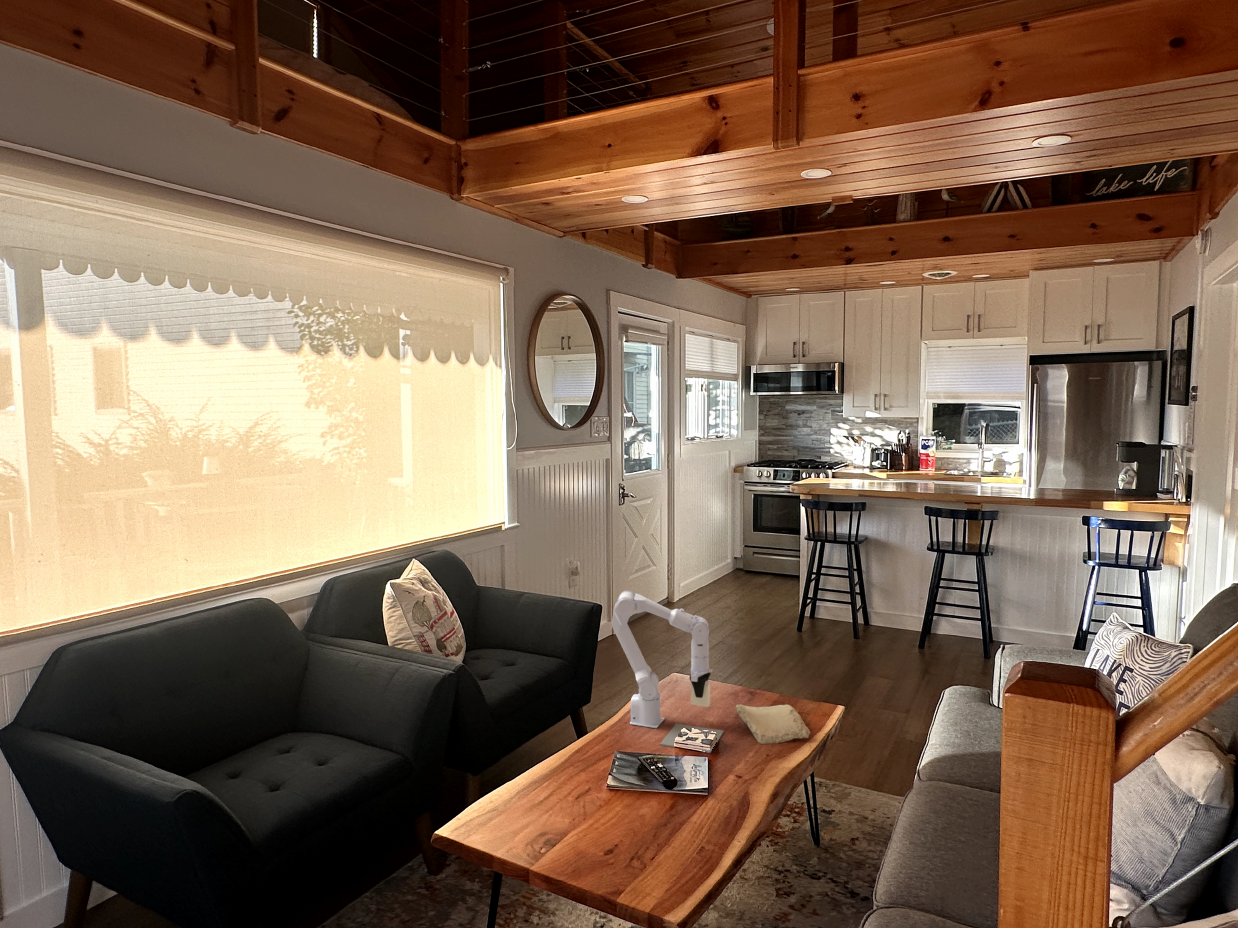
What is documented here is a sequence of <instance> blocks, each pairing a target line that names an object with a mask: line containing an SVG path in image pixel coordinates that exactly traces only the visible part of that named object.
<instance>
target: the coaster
mask: <svg viewBox="0 0 1238 928" xmlns="http://www.w3.org/2000/svg"><path fill="white" fill-rule="evenodd" d="M690 705H693V706H699V707H704V708H709V707H710V706H711V681H710V680H708V681H706V682H705V685H704V692H703V697H702V698H698V697H696V696H695V692H694V688H693V685H692V683H691V682H690Z"/></svg>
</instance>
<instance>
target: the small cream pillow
mask: <svg viewBox="0 0 1238 928" xmlns="http://www.w3.org/2000/svg"><path fill="white" fill-rule="evenodd" d="M735 709H736V712H737V713H738V715H739V717H740V718H741V720H742V722H743V723H745V724H746V725H747V727H748V729H749V730H750V732H751V733H752V735H753V736H754V738H755V740H756V742H758V743H759V744H761V745H766V744H779V743H783V742H784V743H786V742H789V741H792V740H794V739H809V737H810V735H811V731H810V729H809V728H808V726H806V723H805V722H804V721H803V719H802V717H801V715H800V714H799V713H798V712H797V710H796V708H794V707H793V706H792V705H791V704H778V705H777V704H776V705H773V706H759V707H758V706H749V705H743V704H736V705H735Z"/></svg>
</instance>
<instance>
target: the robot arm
mask: <svg viewBox="0 0 1238 928" xmlns="http://www.w3.org/2000/svg"><path fill="white" fill-rule="evenodd" d="M635 611H636V615H637V614H640V613H644V612H647V613H648V614H649V613H650V614H652V615H655V616H658V617H660V618H662V619H666V620H667V621H668V623H669V625H670V626H672V627H674V628H676V629H678V630H679V629H680V630H681V631H684V632H686V633H690V634H691V638H692V639H691V642H690V645H691V647H690V650H691V651H690V655H691V656H690V657H691V659H690V660H691V663H690V664H691V667H690V673H691V674H690V675H689V681H690V684H691V683H692V685H693V688H694V692H695V696H696V697H698V698H702V697H703V692H704V685H705V682H706V681H709V678H710V677H711V675H712V672H713V668H710V658H709V656H710V642H709V635H710V627H709V623H708V621H707V619H705V618H704V617H703V616H698V615H696V614H695V615H693V614H691V613H688V612H686V611H685V609H684V608H674V609H670V608H668V607H665V606H663V605H662V604H659V603H658V602H656V601H654V600H651V599H649V598H647V597H645V596H644V595H641V594H639V593H634V592H633V591H631V590H623V591H622V592H621V593H619V595H618V597H617V600H616V602H615V604H614V607H613V613H612V618H611V628H612V629H613V632H614V634H615V635H616V638H617V639H618V642H619V644H620V646H621V648H622V649H623V650H622V651H623V652H624V654H625V656H626V658H627V660H628V663H629V664H630V666H631V669H632V671H633V673H634V675H635V680H636V683H637V685H638V693H634V694H633V695H632V697H631V699H630V721H629V724H630V725H634V726H640V727H646V728H652V729H657V728H659V726H660V725H661V724H662V723H663V721H665V717H661V694H660V692H659V683H660V679H659V677H658V675H657V674H656V673H654V671H652V668H651V667H650V665H648V663H647V661H646V660H645V658H644V656H643V653H642V650H641V648H640V647H639V645H638V643H637V641H636V639H635V636H634V634H633V633H632V630H631V629H630V627H629V624H628V621H629V619H630V617H632V615H633V614H634V612H635Z"/></svg>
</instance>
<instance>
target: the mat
mask: <svg viewBox="0 0 1238 928" xmlns="http://www.w3.org/2000/svg"><path fill="white" fill-rule="evenodd" d="M683 728H694V729H699V730H709V731H713V732H716V733H717V741H716V742H717V743H718V742H719V740H720V738H721V737H723V735H724V732H725V731H724V730H721V729H720V730H719V729H715V728H707V727H703V726H702V727H701V726H696V725H695V726H694V725H687V724H682V723H681V724H680V723H675V725H673V727H672V728H671V730H669V732H668V733H667V734H666V736H665V737H664V738H663V739H662V740H661V742H660V743H659V746H663V747H668V748H674V741H675V738H676V737H677V735H678V734H679V733H680V732H681V729H683ZM714 746H715V747H716V745H714ZM714 746H713V747H714ZM715 747H714V748H715ZM714 748H712V749H713V750H714ZM712 749H710V750H702V751H705V752H707V753H706V754H711V753H712V752H713V750H712ZM705 752H704V753H705Z"/></svg>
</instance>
